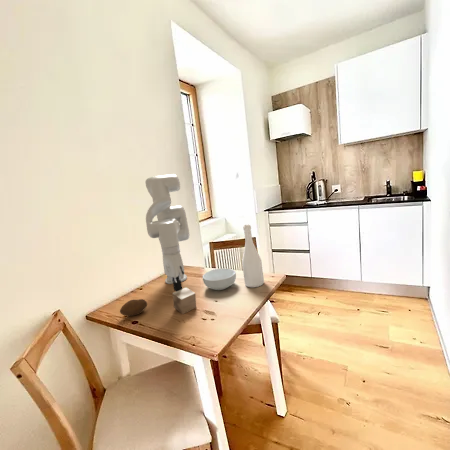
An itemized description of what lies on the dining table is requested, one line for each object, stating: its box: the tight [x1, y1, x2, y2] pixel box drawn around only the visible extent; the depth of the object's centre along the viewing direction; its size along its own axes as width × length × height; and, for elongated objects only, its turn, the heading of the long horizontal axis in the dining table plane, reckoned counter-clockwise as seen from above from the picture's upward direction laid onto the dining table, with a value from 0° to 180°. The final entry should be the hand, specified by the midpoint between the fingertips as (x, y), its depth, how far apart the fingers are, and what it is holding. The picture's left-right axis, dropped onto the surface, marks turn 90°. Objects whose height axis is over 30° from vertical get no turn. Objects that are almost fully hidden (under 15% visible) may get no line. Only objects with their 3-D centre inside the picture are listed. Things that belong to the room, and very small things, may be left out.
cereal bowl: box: [202, 267, 237, 291], centre depth 130 cm, size 17×17×7 cm
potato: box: [119, 298, 148, 317], centre depth 113 cm, size 7×12×7 cm, turn 131°
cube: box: [172, 287, 197, 315], centre depth 111 cm, size 7×7×7 cm
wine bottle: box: [241, 223, 265, 288], centre depth 125 cm, size 10×10×30 cm
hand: (178, 289), depth 113 cm, fingers closed
